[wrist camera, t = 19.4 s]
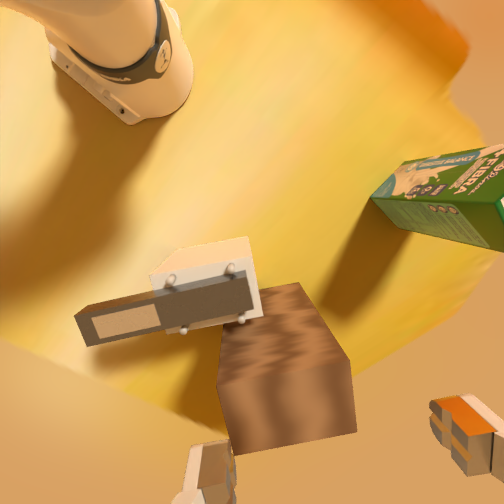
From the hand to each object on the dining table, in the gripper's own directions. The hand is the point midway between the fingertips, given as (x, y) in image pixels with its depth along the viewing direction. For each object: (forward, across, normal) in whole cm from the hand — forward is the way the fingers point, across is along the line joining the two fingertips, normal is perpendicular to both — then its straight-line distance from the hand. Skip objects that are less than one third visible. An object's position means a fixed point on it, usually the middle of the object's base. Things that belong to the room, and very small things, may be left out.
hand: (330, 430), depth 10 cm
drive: (+25, +14, +3) cm, 29 cm away
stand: (+41, +1, +16) cm, 44 cm away
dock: (+41, +9, +4) cm, 42 cm away
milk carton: (+41, -29, -3) cm, 50 cm away
